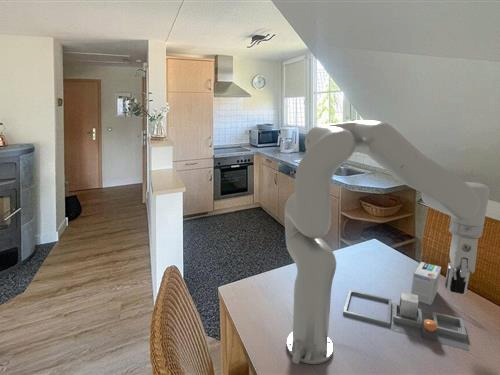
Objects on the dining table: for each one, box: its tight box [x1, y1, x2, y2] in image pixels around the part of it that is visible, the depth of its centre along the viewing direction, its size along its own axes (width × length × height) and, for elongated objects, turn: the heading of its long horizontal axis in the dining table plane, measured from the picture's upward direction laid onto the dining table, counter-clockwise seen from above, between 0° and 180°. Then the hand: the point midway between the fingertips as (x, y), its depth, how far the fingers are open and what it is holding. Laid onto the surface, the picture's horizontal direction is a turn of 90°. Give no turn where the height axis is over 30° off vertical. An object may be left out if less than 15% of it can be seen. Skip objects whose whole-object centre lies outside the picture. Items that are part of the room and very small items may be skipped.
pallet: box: [391, 302, 470, 352], centre depth 95 cm, size 13×19×4 cm
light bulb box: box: [410, 261, 442, 306], centre depth 110 cm, size 11×7×11 cm, turn 141°
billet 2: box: [444, 262, 471, 297], centre depth 91 cm, size 4×5×7 cm
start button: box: [424, 319, 437, 332], centre depth 90 cm, size 3×3×2 cm
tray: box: [342, 289, 393, 327], centre depth 104 cm, size 14×14×2 cm
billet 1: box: [399, 291, 419, 321], centre depth 98 cm, size 4×5×7 cm
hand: (455, 286), depth 91 cm, fingers closed on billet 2, 4 cm apart
